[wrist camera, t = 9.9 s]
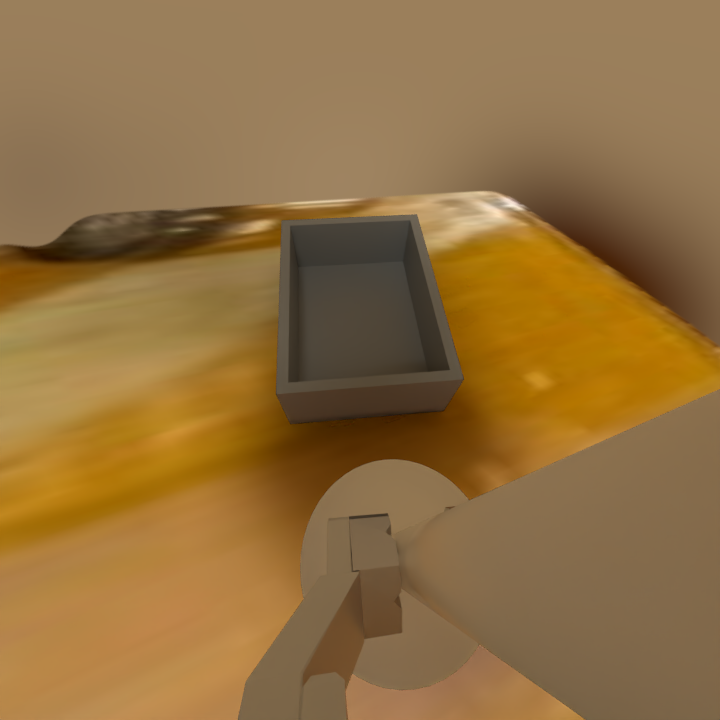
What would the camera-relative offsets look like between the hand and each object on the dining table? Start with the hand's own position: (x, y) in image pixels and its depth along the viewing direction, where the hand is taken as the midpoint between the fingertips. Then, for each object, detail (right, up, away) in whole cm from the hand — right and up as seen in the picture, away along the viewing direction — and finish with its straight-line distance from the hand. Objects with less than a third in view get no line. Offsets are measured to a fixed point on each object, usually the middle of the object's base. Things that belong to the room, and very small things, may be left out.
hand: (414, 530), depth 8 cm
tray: (-2, +7, +24) cm, 25 cm away
